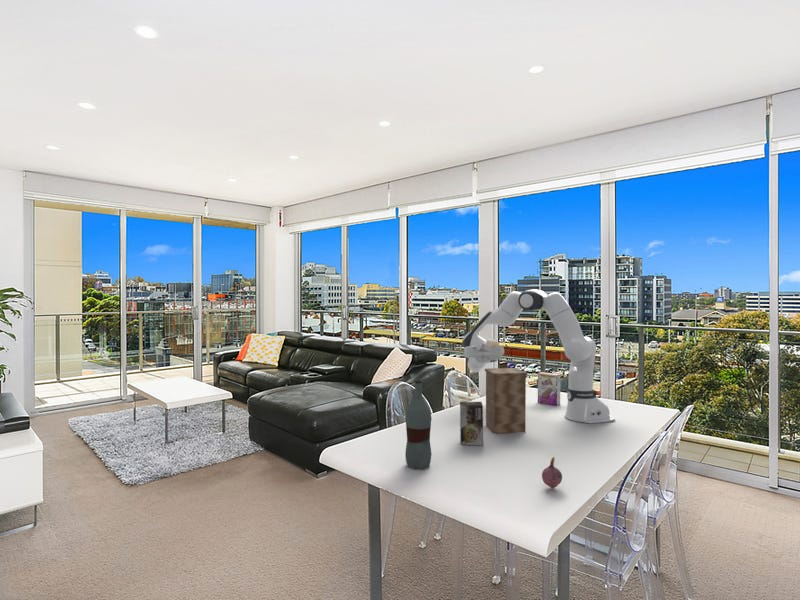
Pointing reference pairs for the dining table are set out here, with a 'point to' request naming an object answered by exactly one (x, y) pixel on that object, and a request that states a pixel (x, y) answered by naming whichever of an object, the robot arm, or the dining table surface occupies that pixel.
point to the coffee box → (471, 423)
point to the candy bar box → (549, 388)
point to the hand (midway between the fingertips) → (487, 345)
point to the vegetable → (551, 475)
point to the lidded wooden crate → (505, 400)
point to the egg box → (491, 345)
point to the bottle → (418, 431)
